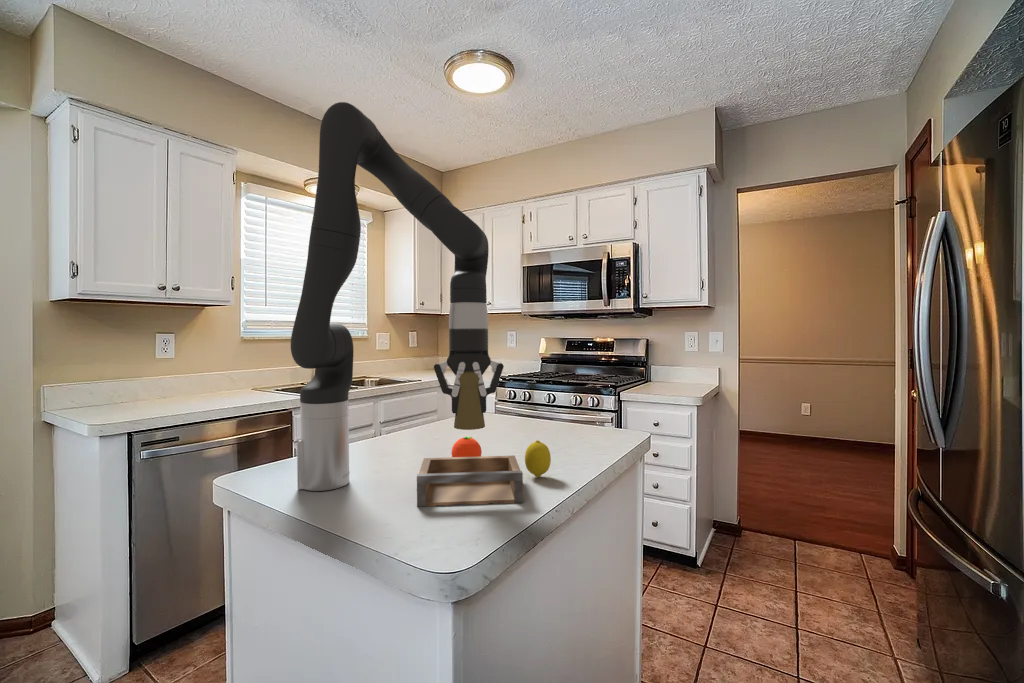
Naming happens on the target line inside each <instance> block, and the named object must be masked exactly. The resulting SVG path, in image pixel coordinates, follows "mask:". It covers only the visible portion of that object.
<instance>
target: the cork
mask: <svg viewBox="0 0 1024 683" xmlns="http://www.w3.org/2000/svg"><path fill="white" fill-rule="evenodd" d="M459 375H460V374H459ZM478 375H479V374H478ZM478 375H477V374H476V373H474V371H464V373H462V374H461V376H460V378H458V380H459V382H460V388H459V392H458V397H459V403H458V410H457V416H455V415H454V421H453V422H454V423H453V424H454V425H453V428H454V429H456V430H463V431H464V430H465V431H471V430H473V431H474V430H480V429H483V428H485V427H486V424H485V423H486V422H485V415H484V414H483V415H482V411H481V405H480V398H479V397H480V391H479V384H478V383H479V379H480V378H479V377H478ZM482 378H483V376H482ZM483 379H484V378H483Z"/></svg>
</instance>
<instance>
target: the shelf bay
mask: <svg viewBox="0 0 1024 683" xmlns="http://www.w3.org/2000/svg"><path fill="white" fill-rule="evenodd" d="M517 460H518V459H517V458H516V456H515V455H492V456H491V455H490V456H489V455H486V456H485V455H484V456H482V455H481V456H480V457H452V456H451V457H449V456H448V457H446V456H445V457H424V458H423V460H422V463H421V466H420V468H419V471H418V473H417V474H416V507H417V508H419V507H418V506H426V507H437V506H436V505H445V506H454V505H453V504H471V505H489V504H488V503H497V504H523V503H524V501H523V500H524V498H523V497H524V494H523V493H524V492H523V488H524V486H523V485H524V482H523V478H524V476H523V475H524V473H523V471H522V470H521V468H520V465H519V463H518V461H517ZM433 505H434V506H433Z"/></svg>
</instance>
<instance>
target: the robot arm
mask: <svg viewBox="0 0 1024 683" xmlns="http://www.w3.org/2000/svg"><path fill="white" fill-rule="evenodd" d="M318 148H319V151H318V153H319V154H318V172H317V173H318V177H317V183H316V192H315V197H314V208H313V215H312V221H311V226H310V234H309V242H308V249H307V260H306V266H305V271H304V278H303V283H302V290H301V294H300V298H299V299H300V300H299V302H298V307H297V311H296V315H295V320H294V323H293V327H292V330H291V336H290V352H291V356H292V359H293V360H294V363H295V364H296V365H297V366H298V367H300V368H302V369H308V370H313V369H315V370H314V375H313V377H312V379H311V380H310V381H309V382H308V383H306V384H305V385H304V386H302V387H301V389H300V392H299V393H300V394H299V405H300V407H299V410H300V421H299V422H300V439H299V440H298V441H296V455H297V456H296V459H297V460H296V461H297V462H296V464H297V466H296V468H297V490H306V491H311V492H321V491H331V490H335V489H339V488H342V487H344V486H347V485H348V484H350V433H349V432H350V426H349V424H350V421H349V420H350V419H349V416H350V415H349V393H350V390H351V387H352V385H353V377H354V372H353V371H354V341H353V337H352V334H351V333H350V330H349V329H348V328H347V327H346V326H344V325H343V324H341V323H338V322H331V318H332V311H333V306H334V303H335V300H336V297H337V295H338V293H339V291H340V290H341V288H342V287H343V285H344V284H345V282H346V281H347V279H348V278H349V276H350V275H351V273H352V271H353V269H354V268H355V265H356V263H357V258H358V254H359V248H360V247H359V246H360V241H361V232H362V231H361V230H362V229H361V228H362V226H361V216H360V211H359V205H358V201H357V200H358V198H357V194H356V172H357V166H359V167H361V168H362V169H364V170H365V171H367V172H368V173H370V174H371V175H373V176H374V177H375V178H376V179H378V180H379V182H381V183H382V184H383V185H384V186H385V187H386V188H387V189H388V190H389V191H390V192H391V194H393V196H394V197H395V198H396V199H397V201H398V203H400V204H401V205H402V207H403V208H405V210H407V211H408V213H410V215H412V216H413V217H414V218H415V219H416V220H417V221H418V222H419V223H420V224H422V226H424V227H425V228H426V229H427V230H429V231H431V233H432V234H433V235H434V236H435V237H436V238H437V239H438V240H439V241H440V242H441V243H442V245H444V246H445V248H447V250H449V251H450V252H451V253H452V254H453V255H454V272H453V274H452V276H451V278H450V283H449V285H450V286H449V300H450V301H449V302H450V304H449V311H448V313H449V314H448V340H449V341H448V344H449V345H448V346H449V347H448V348H449V350H448V351H449V352H448V357H447V358H446V360H445V361H443V362H440V363H438V362H437V363H435V364H434V365H433V369H434V372H435V374H436V377H437V380H438V383H439V386H440V389H441V392H442V393H443V394H444V395H448V396H450V397H451V413H452V414H454V417H455V416H457V410H458V403H459V397H458V392H459V388H460V382H459V380H458V378H460V376H461V374H462V373H464V371H474V373H476V374H477V375H478V374H479V375H478V377H479V378H480V379H479V383H478V384H479V391H480V397H479V398H480V405H481V411H482V415H484V413H485V414H486V412H487V396H488V395H492V394H495V392H496V391H497V387H498V386H499V382H500V380H501V377H502V373H503V370H504V364H503V363H501V362H497V361H493V360H492V359H491V357H490V356H489V314H488V312H489V311H488V307H487V299H488V298H487V272H488V263H489V249H490V248H489V240H488V237H487V235H486V233H485V232H484V231H483V230H482V228H481V227H480V226H479V225H478V224H477V223H476V221H475V222H474V221H473V220H472V219H471V218H470V217H469V216H467V215H466V214H465V213H464V212H463V211H462V210H460V209H459V208H458V207H456V206H455V205H454V204H453V203H452V201H451V200H450V199H449V198H448V197H447V196H445V194H443V192H441V191H440V190H439V189H438V188H437V187H436V186H435V185H434V184H433V183H432V182H430V181H429V179H427V178H426V177H424V176H423V175H422V174H421V173H419V172H418V170H415V169H414V168H413V167H412V166H410V165H409V164H408V163H407V162H406V161H405V160H403V158H402V157H401V156H399V154H398V153H397V152H396V151H395V149H394V148H393V147H392V146H391V145H390V144H389V143H388V141H387V139H386V138H385V137H384V135H382V133H381V131H380V130H379V129H378V128H377V125H376V124H375V123H374V122H373V121H372V119H371V118H369V117H368V116H367V115H366V114H365V113H364V112H362V111H361V110H360V108H357V107H356V106H355V105H353V104H352V103H349V102H346V101H339V102H335V103H333V104H332V105H331V106H329V107H328V108H327V110H326V111H325V112H324V114H323V117H322V118H321V122H320V129H319V147H318ZM489 366H490V367H491V372H492V373H493V375H492V378H491V382H490V383H489V384H490V385H489V386H487V387H486V386H485V382H484V378H482V377H483V375H484V374H485V372H486V371H487V370H488V368H489ZM447 367H449V369H450V370H451V372H452V373H453V374H454V376H455V378H454V379H455V380H454V382H453V383H454V384H453V386H452V387H449V386H448V382H447V379H446V377H445V376H446V375H445V373H446V372H447ZM459 374H460V375H459Z"/></svg>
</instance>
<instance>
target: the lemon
mask: <svg viewBox="0 0 1024 683" xmlns="http://www.w3.org/2000/svg"><path fill="white" fill-rule="evenodd" d="M524 453H525V454H524V463H525V466H526V469H527V471H528V472H529V473H530V474H532V475H533V476H535V478H540V477H541V476H542V475H544V474H546V473H547V472H548V470H549V469H550V466H551V462H552V461H551V460H552V459H551V452H550V449H549V447H548V446H547V445H546V444H545V443H543V442H541V441H540V440H539V439H538V440H535V441H534V442H531V443H530V444H529V445H528V446H527V448H526V450H525V452H524Z"/></svg>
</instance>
